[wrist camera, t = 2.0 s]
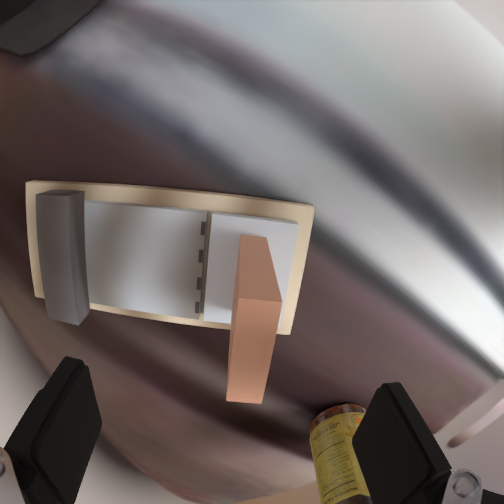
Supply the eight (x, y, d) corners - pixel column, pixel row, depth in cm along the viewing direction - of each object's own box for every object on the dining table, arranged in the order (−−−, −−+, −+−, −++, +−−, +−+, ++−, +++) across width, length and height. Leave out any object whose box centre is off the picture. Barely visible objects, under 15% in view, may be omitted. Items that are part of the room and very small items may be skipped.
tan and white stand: (296, 221, 19) (337, 280, 10) (278, 322, 21) (296, 419, 13) (213, 211, 18) (188, 264, 10) (204, 314, 21) (184, 410, 12)
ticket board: (311, 204, 19) (326, 217, 16) (288, 327, 22) (295, 358, 19) (33, 180, 18) (1, 188, 15) (41, 291, 21) (16, 312, 17)
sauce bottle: (373, 423, 27) (432, 584, 8) (317, 445, 27) (351, 611, 9) (359, 387, 25) (434, 585, 6) (295, 413, 25) (329, 617, 7)
